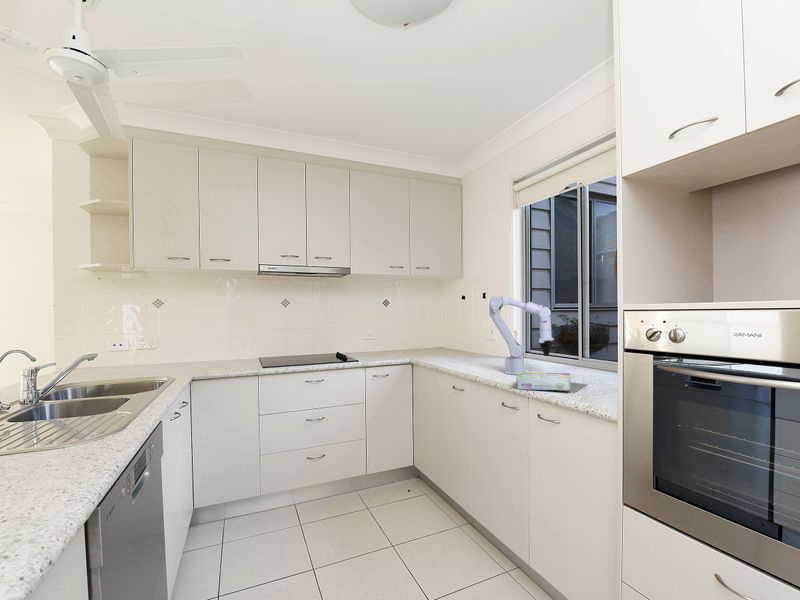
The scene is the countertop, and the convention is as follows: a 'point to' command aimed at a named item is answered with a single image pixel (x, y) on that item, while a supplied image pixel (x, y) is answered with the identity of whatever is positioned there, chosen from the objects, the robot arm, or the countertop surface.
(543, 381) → the snack box
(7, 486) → the countertop surface
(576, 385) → the mat
